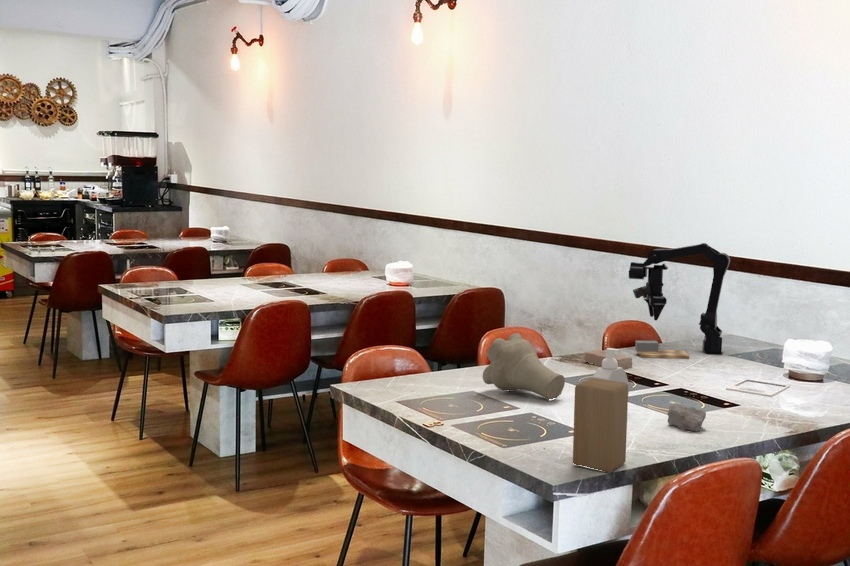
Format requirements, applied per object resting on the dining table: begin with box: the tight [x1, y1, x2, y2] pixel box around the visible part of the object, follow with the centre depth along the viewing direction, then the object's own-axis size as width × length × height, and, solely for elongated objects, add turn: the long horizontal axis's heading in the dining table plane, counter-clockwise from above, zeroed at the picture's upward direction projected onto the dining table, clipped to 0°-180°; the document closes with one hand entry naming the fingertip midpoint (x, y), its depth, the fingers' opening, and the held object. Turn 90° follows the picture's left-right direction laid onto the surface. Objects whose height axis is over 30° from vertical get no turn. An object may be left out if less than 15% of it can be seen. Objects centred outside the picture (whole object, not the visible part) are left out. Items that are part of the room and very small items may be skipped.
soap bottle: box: [591, 347, 630, 395], centre depth 255 cm, size 16×5×20 cm, turn 142°
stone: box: [667, 404, 707, 433], centre depth 245 cm, size 10×8×6 cm
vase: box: [482, 332, 566, 401], centre depth 277 cm, size 22×22×28 cm
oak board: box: [637, 349, 690, 360], centre depth 345 cm, size 18×11×1 cm, turn 86°
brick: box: [583, 349, 633, 370], centre depth 326 cm, size 17×8×5 cm, turn 39°
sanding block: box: [634, 340, 659, 354], centre depth 346 cm, size 8×5×4 cm, turn 86°
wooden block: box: [572, 377, 629, 473], centre depth 211 cm, size 10×10×20 cm
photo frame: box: [725, 378, 791, 398], centre depth 293 cm, size 15×1×18 cm
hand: (653, 318), depth 360 cm, fingers open, 9 cm apart
